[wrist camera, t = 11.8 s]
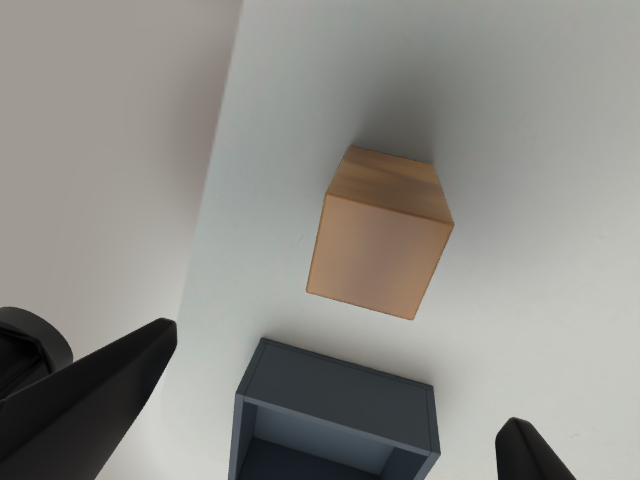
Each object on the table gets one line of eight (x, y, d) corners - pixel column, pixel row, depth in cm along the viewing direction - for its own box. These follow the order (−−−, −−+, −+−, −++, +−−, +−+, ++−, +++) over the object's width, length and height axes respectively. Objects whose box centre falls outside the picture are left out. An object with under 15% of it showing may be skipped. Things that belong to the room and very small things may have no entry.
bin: (248, 434, 33) (226, 491, 28) (261, 337, 26) (235, 393, 22) (383, 476, 32) (382, 541, 27) (433, 386, 25) (441, 454, 21)
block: (331, 220, 20) (304, 292, 14) (348, 144, 18) (325, 192, 12) (407, 239, 20) (413, 322, 14) (434, 164, 17) (455, 224, 11)
